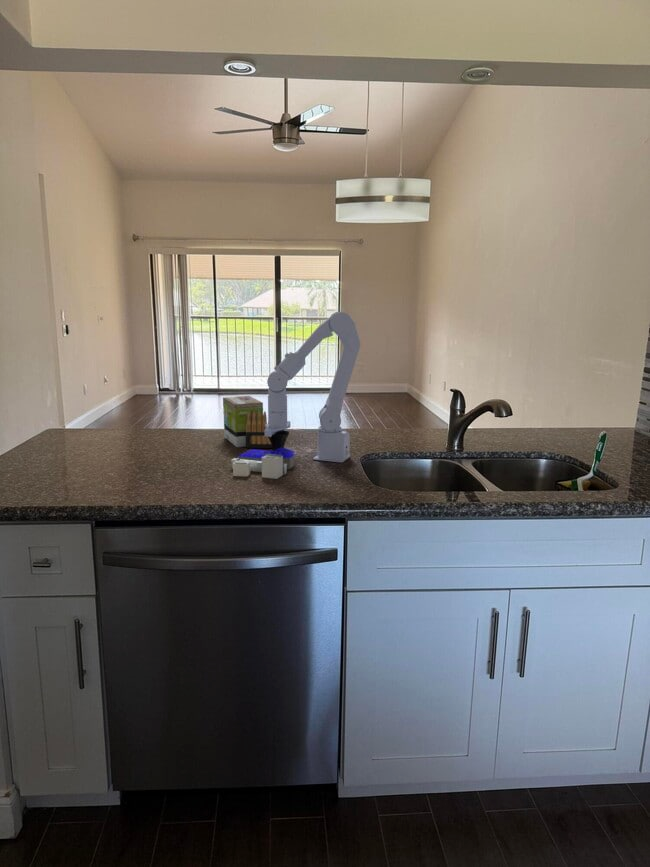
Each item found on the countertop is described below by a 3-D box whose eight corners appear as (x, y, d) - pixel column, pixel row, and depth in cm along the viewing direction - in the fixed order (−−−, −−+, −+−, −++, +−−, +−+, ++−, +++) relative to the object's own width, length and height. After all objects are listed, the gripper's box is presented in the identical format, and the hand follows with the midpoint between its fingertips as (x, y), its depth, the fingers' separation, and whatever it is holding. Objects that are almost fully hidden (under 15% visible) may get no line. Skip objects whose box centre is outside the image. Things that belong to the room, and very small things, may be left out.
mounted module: (282, 474, 161) (282, 454, 159) (276, 478, 157) (276, 458, 156) (268, 473, 162) (268, 453, 161) (261, 477, 158) (261, 456, 157)
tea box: (223, 438, 205) (222, 396, 201) (250, 435, 209) (249, 395, 206) (235, 447, 191) (234, 403, 188) (264, 444, 195) (264, 401, 192)
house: (285, 473, 163) (285, 455, 162) (237, 468, 168) (236, 450, 167) (299, 463, 174) (299, 446, 172) (253, 459, 178) (253, 442, 177)
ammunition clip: (245, 447, 190) (245, 410, 190) (246, 447, 191) (246, 411, 191) (278, 447, 190) (278, 411, 190) (278, 447, 192) (278, 411, 192)
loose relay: (250, 473, 162) (249, 460, 161) (247, 476, 159) (247, 463, 158) (236, 473, 162) (235, 460, 162) (233, 476, 160) (232, 463, 159)
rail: (287, 473, 163) (286, 462, 162) (284, 474, 161) (284, 464, 160) (234, 467, 168) (234, 457, 168) (231, 468, 166) (231, 459, 166)
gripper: (275, 406, 183) (276, 448, 186) (254, 414, 169) (255, 459, 172) (296, 407, 180) (296, 450, 183) (276, 416, 167) (277, 461, 170)
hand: (278, 455), depth 178 cm, fingers closed
